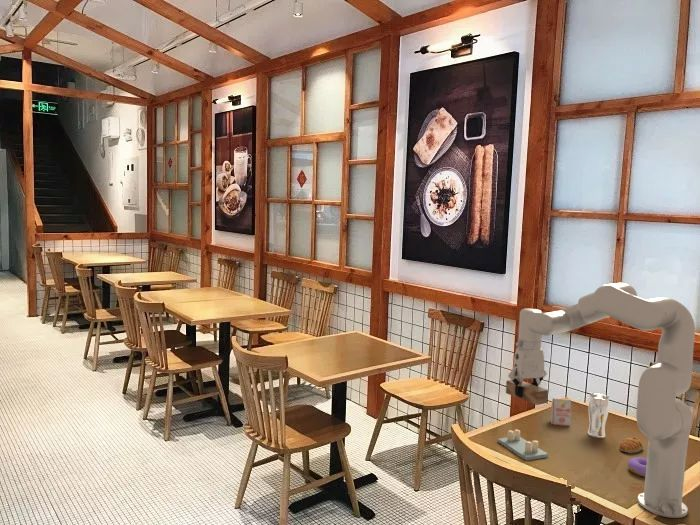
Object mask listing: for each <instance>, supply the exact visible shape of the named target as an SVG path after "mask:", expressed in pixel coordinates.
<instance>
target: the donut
mask: <svg viewBox="0 0 700 525" xmlns="http://www.w3.org/2000/svg"><path fill="white" fill-rule="evenodd" d="M646 464H647V457H641V456H639V457H637V456H636V457H632V458H630V459H629V460H628V462H627V467H628V470H629V471H630V472H632V473H633V474H635V475H637V476H639V477H644V478H645V476H646Z"/></svg>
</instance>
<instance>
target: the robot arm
mask: <svg viewBox="0 0 700 525" xmlns="http://www.w3.org/2000/svg"><path fill="white" fill-rule="evenodd" d="M609 317H610V318H612V319H615V320H617V321H619V322H621V323H623V324H625V325H628V326H630V327H633V328H634V329H638V330H641V331H653V330H654V331H655V330H658V329H661V335H660V338H659V341H658V347H657V348H658V349H657V360H656V363H655V364H653V365H651V366H649V367H647V368H646V369H645V370H644V371H643V372H642V373H641V376H640V378H639V381H638V390H637V403H636V414H635V416H636V423H637V426H638V427H637V428H638V429H639V430H640V431H641V433H642V434H643V436H645V438H648V444H647V455H646V458H647V464H646V476H645V477H644V490H643V492H641V493H639V494H638V495H637V498H636V499H637V500H636V501H637V503H638V504H640V505H641V506H643V507H644V508H646V509H647V510H649V511H650V513H651V512H652V514H654V515H657V516H660V517H665V518H671V519H678V518H679V519H680V518H684V517H686V516H687V515H688V510H689V509H688V506H687V505H686V504H685V503H684V502H683V494H684V493H683V492H684V482H685V470H686V460H687V452H688V442H689V439H690V435H691V432H692V431H691V429H692V426H693V415H692V410H691V409H690V407H689V406H688V405H687V403H686V402H684V401H683V400H681V399H679V398H677V397H680V396H681V395H683V394H685V393H686V392H687V391H689V389H690V388H691V384H692V376H693V375H692V374H693V373H692V372H693V362H694V346H695V336H696V329H695V321H694V318H693V316H692V314H691V312H690V311H689V309H688V308H687V307H686V306H685V305H684V304H682V303H681V302H679V301H678V300H676V299H673V298H671V297H654V298H649V299H645V298H641V297H639V296H638V293H637V291H636V289H635V288H634V286H631V285H630V284H628V283H626V282H625V283H624V282H617V283H607V284H603V285H601V286H599V287H598V288H597V289H596V290H595V291H593V292H591V293H588V294H587V295H584V296H581V297H579V299H578V301H577V303H576V304H574V305H571V306H569V307H566V308H563V309H560V310H554V311H549V312H542V310H540V309H538V308H530V307H529V308H526V307H525V308H522V309H521V310H520V312H519V321H518V322H519V324H518V340H517V342H516V341H515V346H516V348H515V353H514V356H513V365H512V369H511V371H510V372H509V373H508V375H507V377H508V378H509V380H512V381H513V383H514V384H515V395H516V396H518V397H519V398H518V399H520V398H522V392H523V387H522V386H521V385H522V382H523V381H524V380H529V379H530V380H532V382H530V384H532V385H535V386H538V387H539V386H540V385H541V382H542V380H544V378H545V377H546V376H547V375H548V373H547V371H546V370H545V356H544V350H543V348H542V336H544V337H545V336H546V337H547V336H548V337H549V336H552V335H559V334H564V333H568V332H571V331H573V330H576V329H579V328H581V327H584V326H587V325H589V324H590V325H591V324H593V323H595V322H597V321H601V320H604V319H607V318H609ZM640 505H639V506H640ZM641 506H640V507H641ZM643 507H642V508H643ZM644 508H643V509H644ZM647 510H646V511H647ZM649 511H648V512H649Z"/></svg>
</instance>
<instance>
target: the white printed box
mask: <svg viewBox="0 0 700 525" xmlns="http://www.w3.org/2000/svg"><path fill="white" fill-rule="evenodd" d="M550 407H551V408H550V423H551V425H552V424H554V425H555V426H563V427H565V426H566V427H571V420H572V400H571V399H564V398H552V401H551V406H550ZM554 425H553V426H554Z"/></svg>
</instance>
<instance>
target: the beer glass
mask: <svg viewBox="0 0 700 525" xmlns="http://www.w3.org/2000/svg"><path fill="white" fill-rule="evenodd" d="M609 400H610V398H609V396H608V395H606V394H603V393H595V392H594V393H590V394H589V399H588V406H587V407H588V408H587V409H588V418H589V427H588V430H587V435H588V436H591V437H593V438H599V439H604V438H605V437H606V431H605V430H606V428H605V427H606V422H607V419H608V415H609V410H610V401H609Z"/></svg>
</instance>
